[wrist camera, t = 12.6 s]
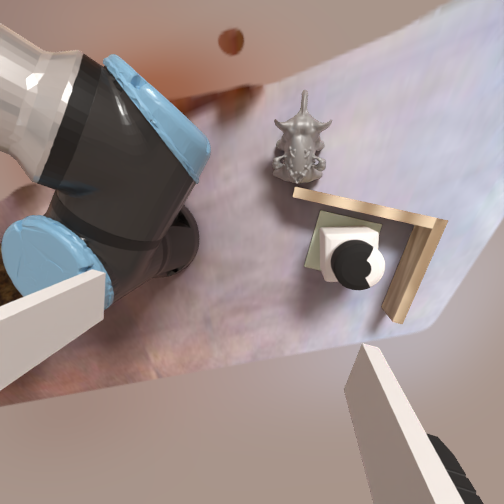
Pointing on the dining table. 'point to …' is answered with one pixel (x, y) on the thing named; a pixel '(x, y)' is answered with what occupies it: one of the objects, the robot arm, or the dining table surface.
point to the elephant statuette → (300, 147)
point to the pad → (330, 221)
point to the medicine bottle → (351, 256)
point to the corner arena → (413, 256)
